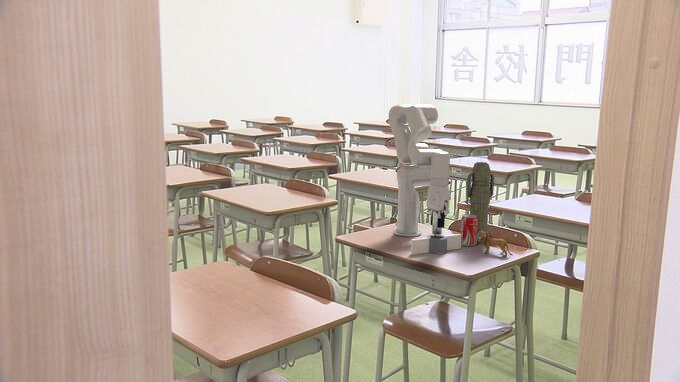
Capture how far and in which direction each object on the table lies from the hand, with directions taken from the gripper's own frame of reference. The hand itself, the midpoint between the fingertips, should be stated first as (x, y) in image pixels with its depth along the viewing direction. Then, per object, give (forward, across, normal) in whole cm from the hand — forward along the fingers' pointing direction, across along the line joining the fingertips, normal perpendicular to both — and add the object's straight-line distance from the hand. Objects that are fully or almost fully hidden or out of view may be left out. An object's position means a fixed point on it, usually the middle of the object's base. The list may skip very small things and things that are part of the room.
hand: (437, 225), depth 233 cm
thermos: (+11, -6, +26) cm, 29 cm away
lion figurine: (+11, +12, +19) cm, 25 cm away
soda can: (+11, -3, +18) cm, 22 cm away
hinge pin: (+3, 0, 0) cm, 3 cm away
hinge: (+11, 0, 0) cm, 11 cm away
